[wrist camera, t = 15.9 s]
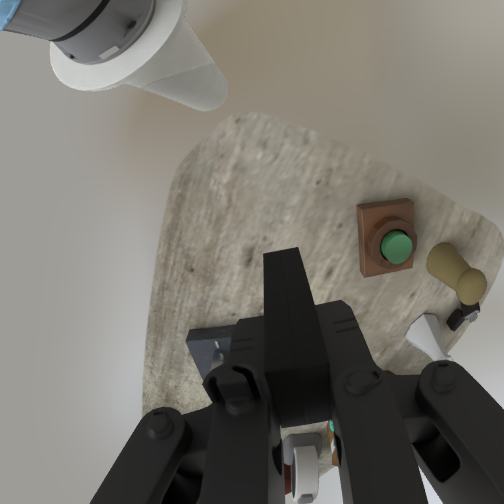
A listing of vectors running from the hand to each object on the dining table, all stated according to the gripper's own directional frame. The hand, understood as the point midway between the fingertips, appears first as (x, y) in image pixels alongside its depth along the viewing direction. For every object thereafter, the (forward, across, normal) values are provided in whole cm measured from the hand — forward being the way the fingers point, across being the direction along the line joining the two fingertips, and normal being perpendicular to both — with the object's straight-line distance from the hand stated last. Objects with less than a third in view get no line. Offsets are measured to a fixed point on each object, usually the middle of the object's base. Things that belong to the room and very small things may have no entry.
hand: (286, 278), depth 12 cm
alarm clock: (+23, -4, -65) cm, 69 cm away
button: (+21, +15, -10) cm, 27 cm away
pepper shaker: (+24, +26, -16) cm, 39 cm away
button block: (+24, +15, -10) cm, 30 cm away
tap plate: (+24, -13, -27) cm, 38 cm away
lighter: (+24, +32, -28) cm, 49 cm away
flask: (+24, +23, -30) cm, 45 cm away
